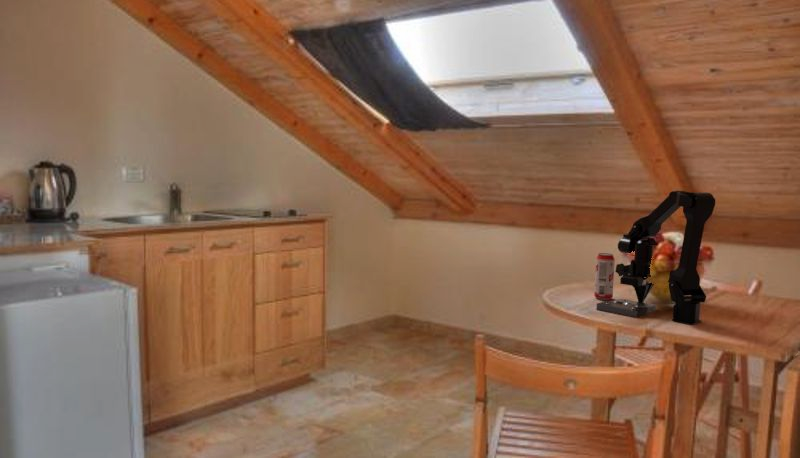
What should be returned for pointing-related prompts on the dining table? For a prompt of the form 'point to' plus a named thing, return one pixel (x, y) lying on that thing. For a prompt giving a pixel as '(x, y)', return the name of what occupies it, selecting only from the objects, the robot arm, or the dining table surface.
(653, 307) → the free leaf
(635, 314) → the fixed leaf
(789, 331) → the dining table surface
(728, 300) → the dining table surface
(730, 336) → the dining table surface
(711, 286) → the dining table surface
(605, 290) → the beer can
